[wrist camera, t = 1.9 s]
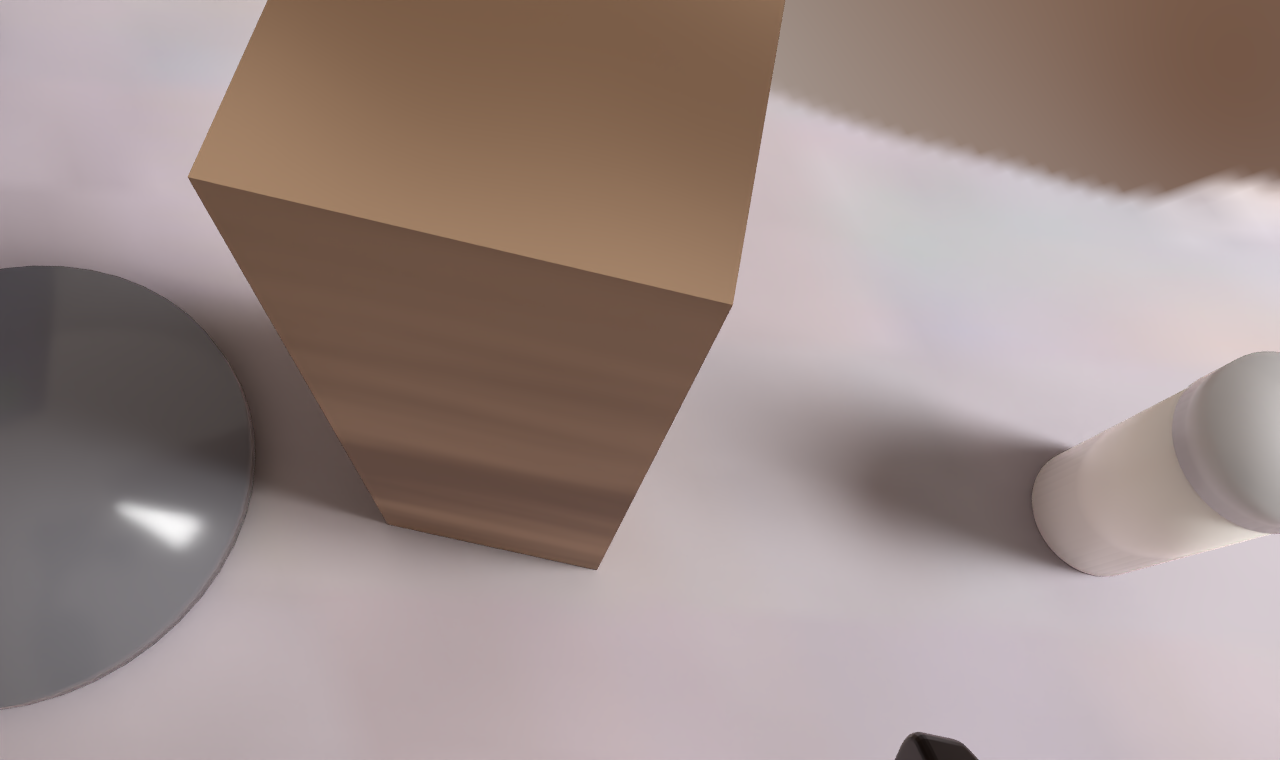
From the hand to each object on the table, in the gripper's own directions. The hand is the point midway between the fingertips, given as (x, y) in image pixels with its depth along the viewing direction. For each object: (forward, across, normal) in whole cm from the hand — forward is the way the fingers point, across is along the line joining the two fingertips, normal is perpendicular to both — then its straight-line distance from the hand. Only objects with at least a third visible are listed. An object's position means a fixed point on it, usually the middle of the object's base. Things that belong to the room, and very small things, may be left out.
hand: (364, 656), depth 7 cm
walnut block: (+12, 0, +4) cm, 13 cm away
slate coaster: (+10, +10, +6) cm, 15 cm away
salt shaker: (+13, -13, +3) cm, 19 cm away
